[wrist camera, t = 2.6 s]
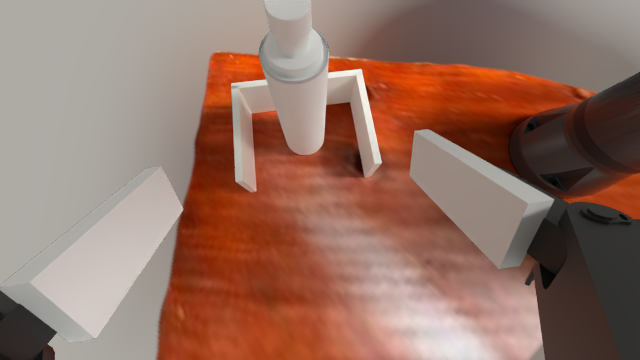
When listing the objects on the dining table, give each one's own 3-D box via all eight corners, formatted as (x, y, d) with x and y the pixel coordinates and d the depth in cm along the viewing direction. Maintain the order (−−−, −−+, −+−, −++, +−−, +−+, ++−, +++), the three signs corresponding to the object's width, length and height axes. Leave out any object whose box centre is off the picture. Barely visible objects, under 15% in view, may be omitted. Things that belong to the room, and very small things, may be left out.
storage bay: (354, 96, 42) (361, 69, 35) (370, 176, 38) (381, 162, 31) (245, 109, 41) (231, 83, 34) (250, 192, 37) (235, 181, 30)
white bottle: (301, 163, 38) (272, 32, 14) (278, 134, 40) (216, -29, 15) (331, 140, 39) (353, -17, 15) (308, 113, 41) (294, -70, 17)
